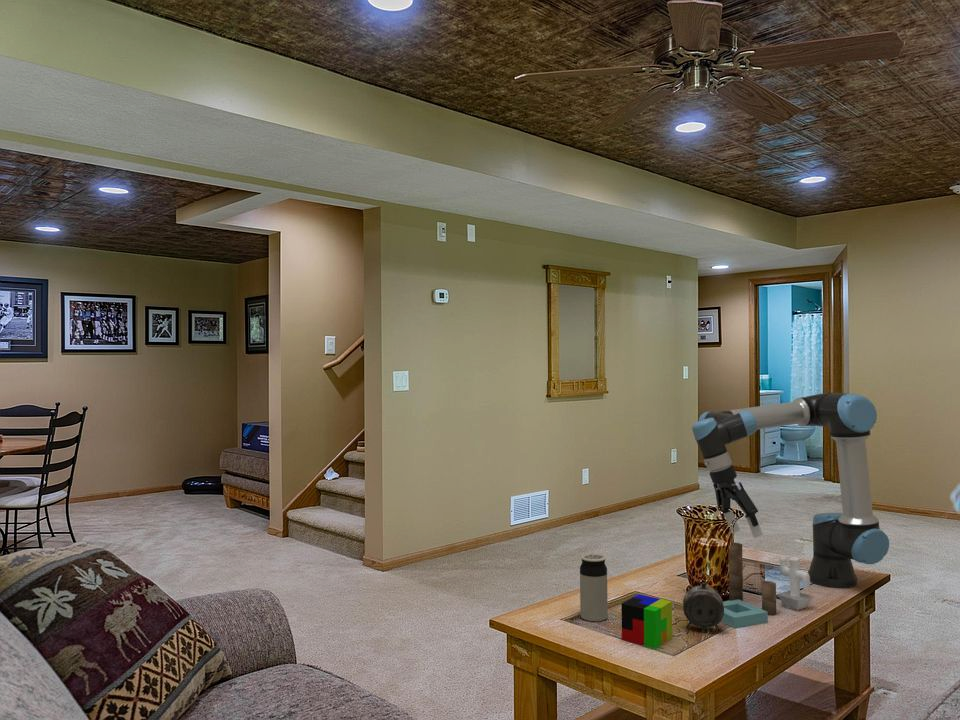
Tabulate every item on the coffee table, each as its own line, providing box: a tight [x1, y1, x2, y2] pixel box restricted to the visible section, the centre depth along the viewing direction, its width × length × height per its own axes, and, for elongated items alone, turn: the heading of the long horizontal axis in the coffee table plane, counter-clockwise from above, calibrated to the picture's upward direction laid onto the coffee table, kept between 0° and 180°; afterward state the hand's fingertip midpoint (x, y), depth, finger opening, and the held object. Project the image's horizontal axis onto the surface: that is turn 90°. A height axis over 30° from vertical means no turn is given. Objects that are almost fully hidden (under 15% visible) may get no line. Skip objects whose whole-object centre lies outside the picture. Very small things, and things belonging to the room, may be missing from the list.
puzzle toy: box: [620, 593, 673, 650], centre depth 199 cm, size 10×10×10 cm
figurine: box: [776, 556, 814, 611], centre depth 223 cm, size 7×9×15 cm
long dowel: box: [728, 542, 744, 601], centre depth 229 cm, size 4×4×18 cm
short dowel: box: [761, 580, 777, 616], centre depth 218 cm, size 4×4×9 cm
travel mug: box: [579, 553, 609, 623], centre depth 216 cm, size 8×8×18 cm
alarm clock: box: [682, 572, 724, 634], centre depth 205 cm, size 11×5×16 cm, turn 74°
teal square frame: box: [720, 600, 769, 629], centre depth 214 cm, size 12×12×3 cm
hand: (746, 534), depth 222 cm, fingers open, 13 cm apart
